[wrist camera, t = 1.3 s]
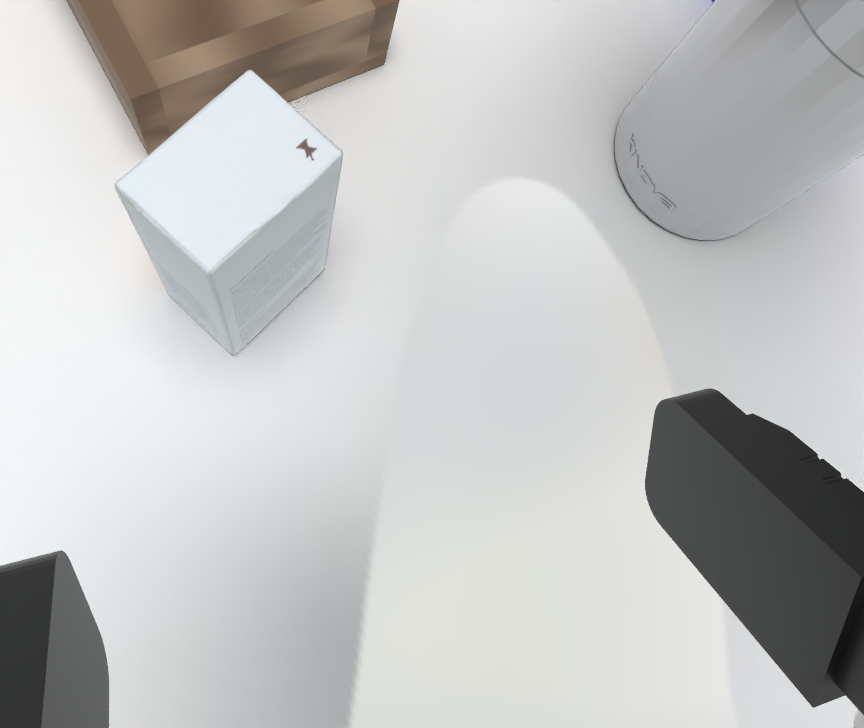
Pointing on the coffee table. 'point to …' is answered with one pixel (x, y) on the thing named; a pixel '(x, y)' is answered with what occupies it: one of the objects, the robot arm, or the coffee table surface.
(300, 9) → the brown wooden tray
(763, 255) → the coffee table surface
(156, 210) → the skincare box
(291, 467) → the coffee table surface
